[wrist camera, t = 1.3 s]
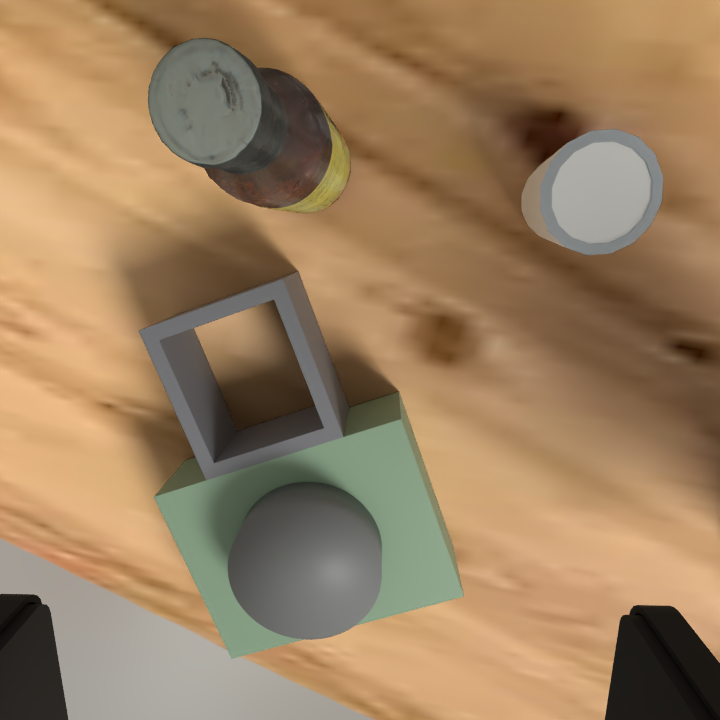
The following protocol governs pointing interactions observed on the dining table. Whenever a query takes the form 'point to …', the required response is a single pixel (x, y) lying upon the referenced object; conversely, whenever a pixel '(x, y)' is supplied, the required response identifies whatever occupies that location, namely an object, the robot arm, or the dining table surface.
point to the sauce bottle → (248, 127)
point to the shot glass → (594, 193)
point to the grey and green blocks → (297, 494)
